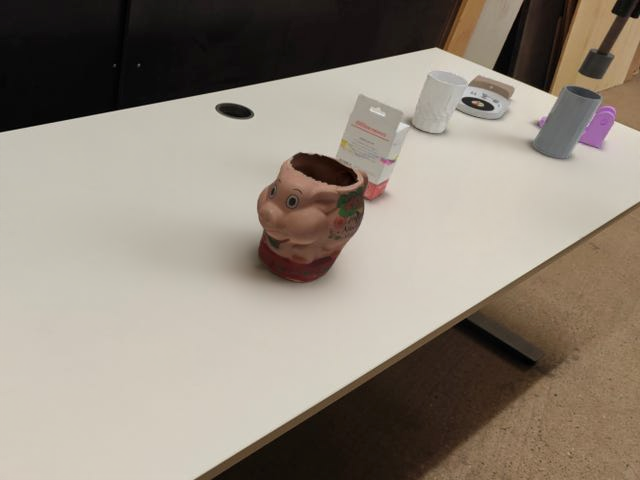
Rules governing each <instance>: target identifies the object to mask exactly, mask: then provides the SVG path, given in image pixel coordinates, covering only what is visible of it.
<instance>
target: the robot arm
mask: <svg viewBox="0 0 640 480" xmlns="http://www.w3.org/2000/svg"><path fill="white" fill-rule="evenodd" d="M635 2H636V0H616V1H615V2H614V5H613V7H612V9H611V11H610V13H611V14H613V15H614V16H615V15H616V16H620V17H622V18H626V17H627V16H628V14H629V12H630V11H631V9H632V7H633V5H634V4H635ZM629 18H632V19H634V20H637V19H639V18H640V0H639V2H638V4H637V5H636V7H635V9H634V11H633V12H632V14H631V16H630V17H629Z"/></svg>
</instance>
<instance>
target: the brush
mask: <svg viewBox="0 0 640 480" xmlns="http://www.w3.org/2000/svg"><path fill="white" fill-rule="evenodd" d="M638 2H639V0H636V2H635V4H634V5H633V7H632V9H631V11H630V12H629V14H628V16H627V17H626V18H622V17H620V16H617V15H616V16H615V18H614V20H613V22H612V23H611V25H610V27H609V29H608V30H607V33H606V34H605V36H604V37H603V40H602V41H601V43H600V45H599V46H598V48H589V50H588V53H587V54H586V56H585V58H584V59H583V61H582V64H580V67H579V69H578V70H577V72H578V74H580V75H581V76H584V77H587V78H590V79H594V80H602V79H603V78H604V77H605V74H606V73H607V71H608V70H609V68H610V66H611V65H612V62H613V61H614V60H615V57H616V56H615V54H613V53H611V51H612V49H613V47H614V45H615V44H616V42H617V40H618V38H619V37H620V35H621V33H622V32H623V30H624V28H625V26H626V24H627V22H628V21H629V19H630V18H631V17H630V16H631V14H632V12H633V11H634V9H635V7H636V5H637V4H638Z"/></svg>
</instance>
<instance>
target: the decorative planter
mask: <svg viewBox="0 0 640 480" xmlns="http://www.w3.org/2000/svg"><path fill="white" fill-rule="evenodd" d="M367 185H368V176H367V174H366V173H365V172H364V171H362V170H356V169H354V168H352V167H351V166H349V165H347V164H345V163H343V162H342V161H340V160H338V159H336V157H333V156H330V155H329V156H328V155H324V154H322V153H316V152H315V153H314V152H301V151H299V152H296V153H295V154H293V155H292V156H290V157H289V158H288V159H286V160H284V161H283V162H282V164H281V166H280V169H279V172H278V174H277V176H276V178H275V180H274V181H273V182H271V183H270V184H268V185H267V186H266V187H264V188H263V190H262V191H261V192H260V194H259V195H258V198H257V202H256V212H257V215H258V216H257V217H258V222H259V224H260V225H261V227H262V229H263V231H262V235H261V237H260V241H259V245H258V248H257V255H258V258H259V261H260V262H261V263H262V264H263V266H265V267H266V268H267V269H268V270H270V271H271V272H272V273H274V274H276V275H278V276H280V277H283V278H285V279H287V280H290V281H293V282H298V283H299V282H300V283H302V282H303V283H304V282H305V283H307V282H312V281H316V280H318V279H320V278H321V277H323V276H325V275H326V274H327V273H328V272H329V270H330V269H331V268H332V267H333V266H334V264H335V262H336V260H337V259H338V258H339V256H340V255H341V252H342V251H343V249H344V248H345V247H346V245H347V244H348V242H349V241H350V240H352V238H353V237H354V236H355V234H357V231H358V230H359V229H360V227H361V225H362V222H363V219H364V215H365V205H366V204H365V197H364V196H363V195H364V193H365V191H366V188H367Z"/></svg>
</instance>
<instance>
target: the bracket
mask: <svg viewBox="0 0 640 480" xmlns="http://www.w3.org/2000/svg"><path fill="white" fill-rule="evenodd" d="M616 115H617V111H616V109H615V107H613V106H611V105H603V106H601V107H600V108H598V109H597V111H596V112H595V114H594V116H593V117H592V119H591V121H590V123H589V124H588V126H587V128H586V129H585V131H584V133H583V134H582V136H581V138H580V139H579V141H578V143H579V142H580V143H582V144H585V145H589V146H592V147H595V148H598V149H599V148H600V147H601V145H602V143H603V142H604V141H605V139H606V137H607V135H608V134H609V132H610V131H611V129H612V127H613V126H614V125H615V119H616ZM547 116H548V115H545V116H542V117H541V119H540V121H539V122H538V126H539V128H541V127H542V125H543V123H544V122H545V120H546V118H547Z"/></svg>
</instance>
